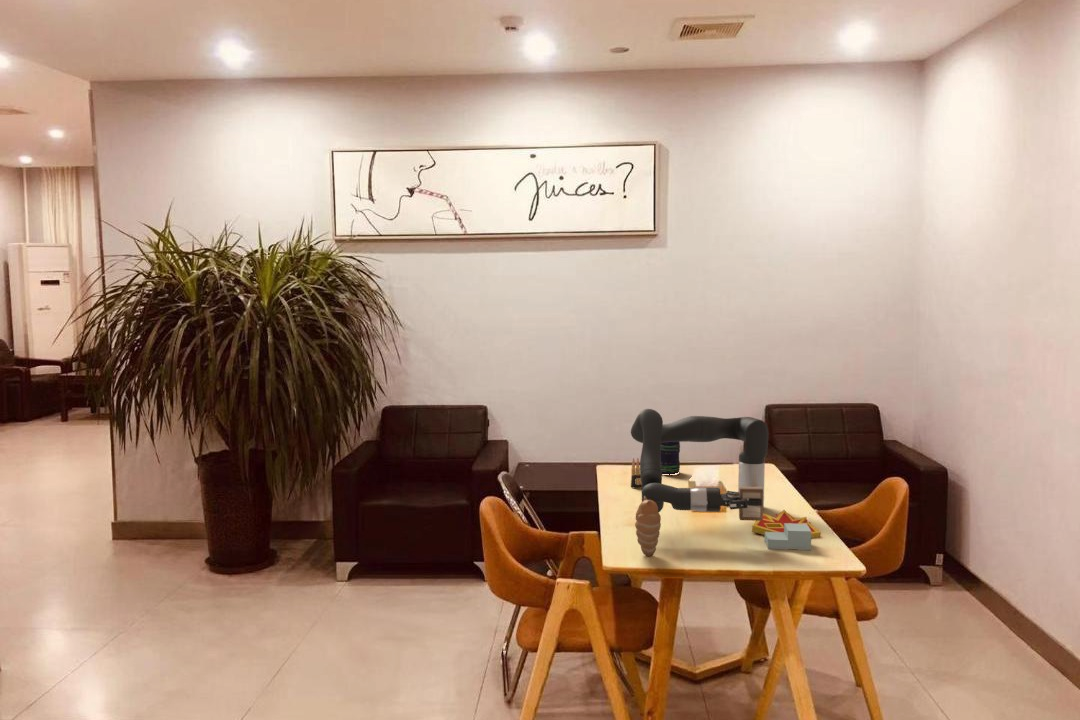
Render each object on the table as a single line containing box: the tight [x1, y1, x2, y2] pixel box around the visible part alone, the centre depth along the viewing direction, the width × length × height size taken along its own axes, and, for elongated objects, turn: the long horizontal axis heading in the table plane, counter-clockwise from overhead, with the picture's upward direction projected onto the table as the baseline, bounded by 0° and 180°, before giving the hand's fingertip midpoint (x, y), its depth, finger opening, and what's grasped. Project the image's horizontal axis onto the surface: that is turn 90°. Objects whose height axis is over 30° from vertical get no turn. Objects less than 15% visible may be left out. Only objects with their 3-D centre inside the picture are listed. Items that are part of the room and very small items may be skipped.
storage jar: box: [660, 442, 681, 475], centre depth 368 cm, size 10×10×15 cm
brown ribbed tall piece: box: [634, 496, 662, 557], centre depth 260 cm, size 9×8×18 cm
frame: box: [738, 487, 764, 521], centre depth 270 cm, size 3×7×10 cm, turn 83°
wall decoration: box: [751, 509, 821, 538], centre depth 290 cm, size 22×31×4 cm
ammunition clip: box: [630, 457, 642, 488], centre depth 345 cm, size 11×2×12 cm, turn 93°
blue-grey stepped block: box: [764, 523, 812, 551], centre depth 270 cm, size 8×13×6 cm, turn 83°
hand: (760, 500), depth 270 cm, fingers closed on frame, 3 cm apart
